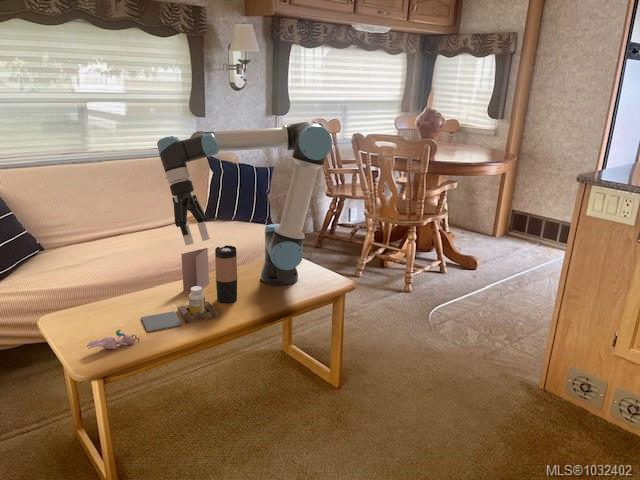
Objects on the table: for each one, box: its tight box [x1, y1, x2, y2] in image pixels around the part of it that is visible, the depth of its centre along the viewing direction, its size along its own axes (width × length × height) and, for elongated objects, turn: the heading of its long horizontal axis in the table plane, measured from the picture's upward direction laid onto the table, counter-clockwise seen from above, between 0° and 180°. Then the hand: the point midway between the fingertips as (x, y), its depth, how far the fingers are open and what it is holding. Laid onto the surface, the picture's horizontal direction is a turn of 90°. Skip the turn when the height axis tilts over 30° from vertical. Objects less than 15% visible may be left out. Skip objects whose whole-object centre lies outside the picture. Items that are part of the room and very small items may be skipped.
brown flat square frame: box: [177, 300, 219, 324], centre depth 177 cm, size 11×11×2 cm
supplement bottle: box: [188, 286, 207, 315], centre depth 176 cm, size 5×5×10 cm
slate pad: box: [140, 310, 183, 334], centre depth 171 cm, size 11×11×1 cm
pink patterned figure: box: [86, 329, 140, 350], centre depth 154 cm, size 6×6×15 cm
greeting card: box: [180, 247, 210, 291], centre depth 196 cm, size 11×7×15 cm, turn 135°
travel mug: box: [214, 245, 238, 305], centre depth 186 cm, size 8×8×20 cm
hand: (198, 242), depth 175 cm, fingers open, 13 cm apart
